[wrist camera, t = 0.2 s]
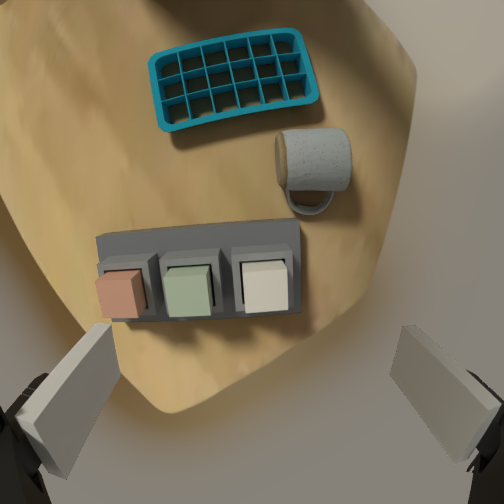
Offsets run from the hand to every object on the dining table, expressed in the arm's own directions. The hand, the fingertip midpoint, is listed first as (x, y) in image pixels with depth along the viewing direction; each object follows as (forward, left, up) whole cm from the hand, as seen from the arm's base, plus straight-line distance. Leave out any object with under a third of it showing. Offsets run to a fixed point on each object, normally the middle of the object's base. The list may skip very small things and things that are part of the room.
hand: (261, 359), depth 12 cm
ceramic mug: (-8, +9, -28) cm, 30 cm away
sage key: (+3, -6, -22) cm, 23 cm away
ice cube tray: (-22, 0, -28) cm, 35 cm away
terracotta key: (+3, -14, -22) cm, 26 cm away
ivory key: (+3, +2, -22) cm, 22 cm away
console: (+3, -6, -28) cm, 28 cm away
